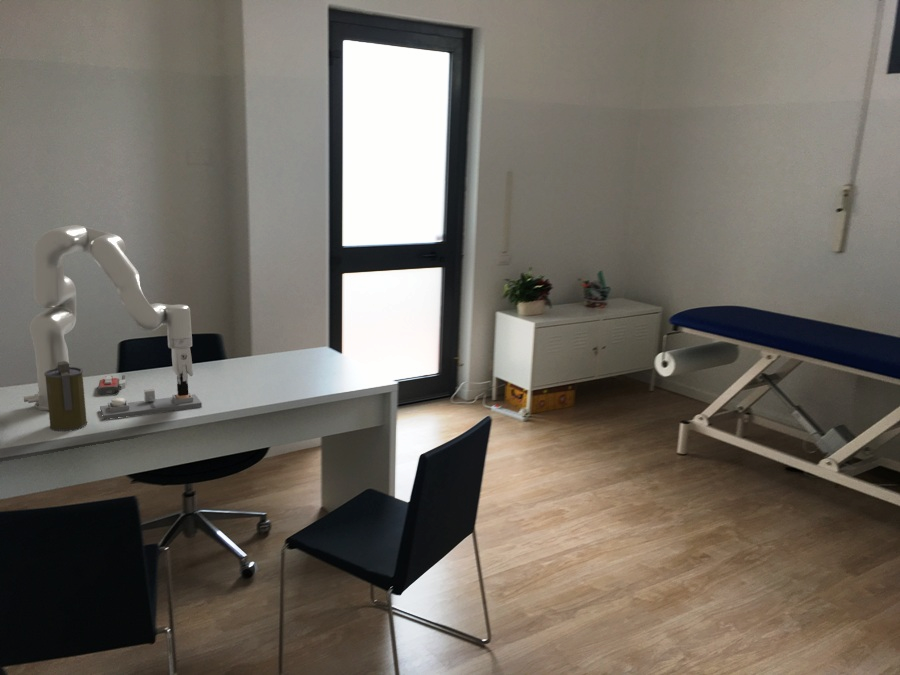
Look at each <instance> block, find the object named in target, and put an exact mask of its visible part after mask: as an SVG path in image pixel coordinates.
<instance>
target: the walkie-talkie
mask: <svg viewBox="0 0 900 675" xmlns="http://www.w3.org/2000/svg"><path fill="white" fill-rule="evenodd" d="M126 386H127V379H126V375H125V374H123V375H122V377H121V379H120V378H117V377H113V375H108V376H107V375H106V376H105V377H104V378H102V379H100V380H99V383H98V387H97V395H98V394H99V395H98V396H106V395H105V394H110V395H117V394H116V393H118V394H119V393H120V390H122V388H123V389H125V388H126ZM102 394H104V395H102Z"/></svg>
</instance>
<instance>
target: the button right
mask: <svg viewBox="0 0 900 675" xmlns="http://www.w3.org/2000/svg"><path fill="white" fill-rule="evenodd" d="M175 395H176V394H175ZM176 398H177V399H181V398H189V394H188V395H182V396H179V395H178V393H177V395H176Z"/></svg>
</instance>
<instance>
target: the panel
mask: <svg viewBox="0 0 900 675" xmlns="http://www.w3.org/2000/svg"><path fill="white" fill-rule="evenodd" d="M177 394H178V393H177ZM177 394H176V393H175V394H172V396H171V397H164V398H162V397H161V398H155V401H150V402H145V400H140V401H139V400H138V401H133V402H131V401H130V402H128V401H127V400H125V405H124V406H118V407H112V403H111V402H107V405H100V406H99V407H100V410H101V411H100V413H101V415H103V416H102V418H104V419H108V420H111V419H110V418H115V419H119V418H118V417H123V418H127V417H126V416H130V417H136V416H135V415H138V416H142V415H143V414H145V415H151V414H150V413H153V414H157V413H158V414H160V413H166V412H172V411H173V410H175V411H180V409H182V410H188V408H190V409H194V408H195V409H197V408H202V406H203V405H202V404H203V403H202V401H201V400H200V399H199V398H198V396H197V395H196V394H195V393H194V394H191V392H188V394H189V398H181V399H177V398H176V395H177ZM196 407H197V408H196ZM159 412H160V413H159ZM173 412H174V411H173ZM104 419H103V420H104Z"/></svg>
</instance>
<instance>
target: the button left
mask: <svg viewBox="0 0 900 675" xmlns="http://www.w3.org/2000/svg"><path fill="white" fill-rule="evenodd" d="M125 401H126V399H125V398H124V397H116V398H112V399H111V402H110V403H112V407H118V406H124V405H125Z"/></svg>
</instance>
